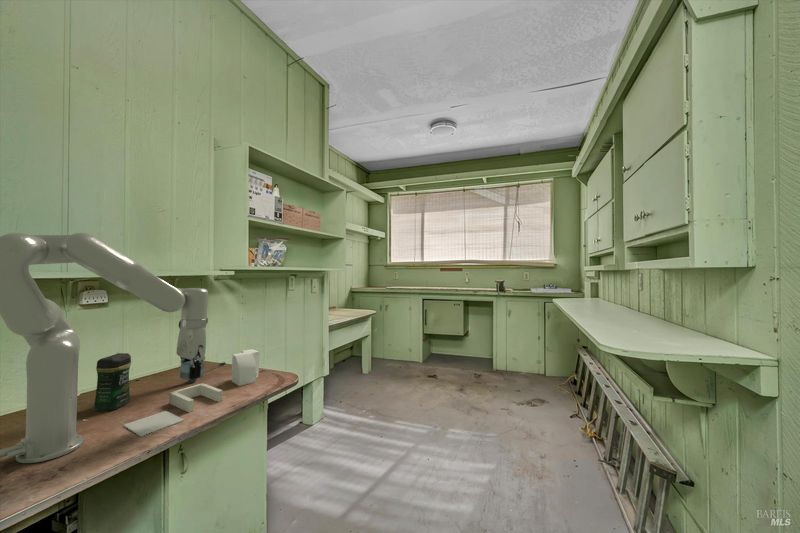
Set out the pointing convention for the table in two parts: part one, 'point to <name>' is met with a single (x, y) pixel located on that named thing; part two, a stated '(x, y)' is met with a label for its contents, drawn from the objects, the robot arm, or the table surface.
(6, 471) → the table surface
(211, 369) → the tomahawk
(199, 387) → the bay
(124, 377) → the coffee jar
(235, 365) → the corner bracket
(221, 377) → the table surface
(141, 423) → the mat
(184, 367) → the block
